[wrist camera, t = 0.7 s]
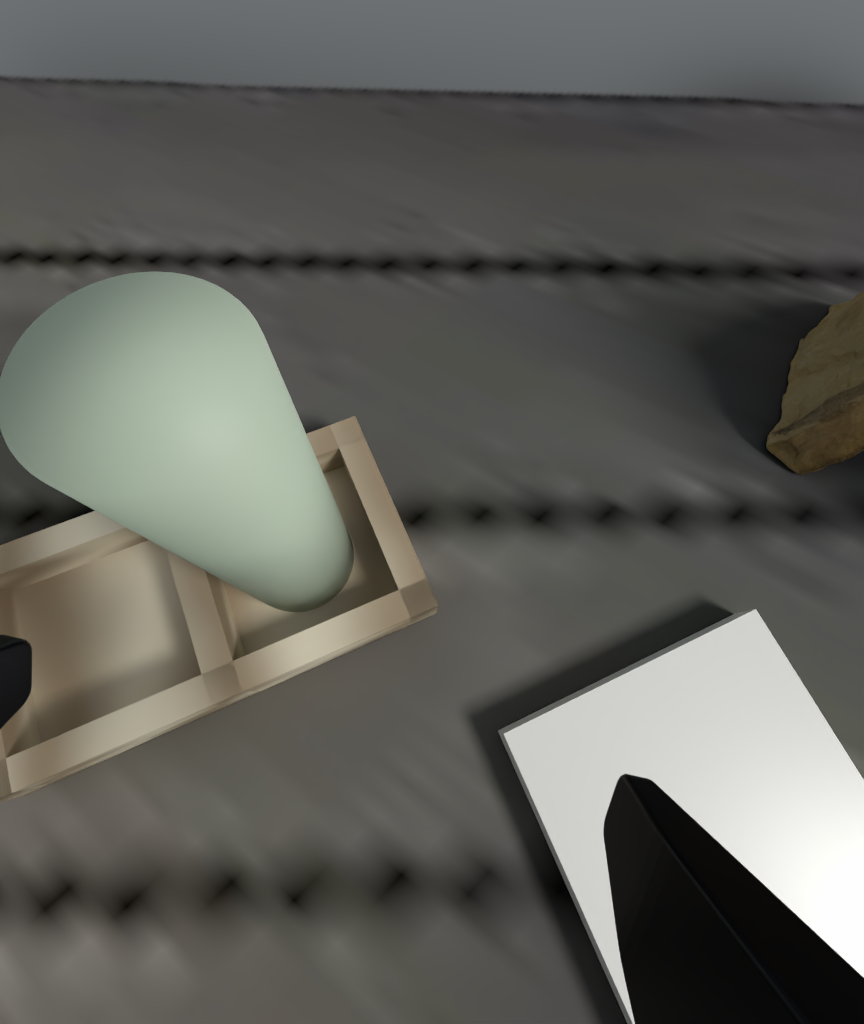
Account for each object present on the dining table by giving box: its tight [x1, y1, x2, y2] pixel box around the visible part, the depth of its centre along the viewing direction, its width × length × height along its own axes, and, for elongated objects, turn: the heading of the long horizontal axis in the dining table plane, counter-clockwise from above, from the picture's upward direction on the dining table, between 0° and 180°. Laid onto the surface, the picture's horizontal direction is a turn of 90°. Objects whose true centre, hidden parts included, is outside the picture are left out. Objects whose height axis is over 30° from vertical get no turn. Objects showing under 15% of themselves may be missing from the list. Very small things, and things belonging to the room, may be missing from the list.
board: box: [498, 609, 864, 1024], centre depth 20 cm, size 12×12×2 cm
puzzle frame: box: [0, 416, 438, 802], centre depth 21 cm, size 17×9×2 cm, turn 114°
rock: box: [766, 291, 864, 475], centre depth 24 cm, size 11×9×10 cm
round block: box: [0, 272, 354, 612], centre depth 16 cm, size 5×5×14 cm
